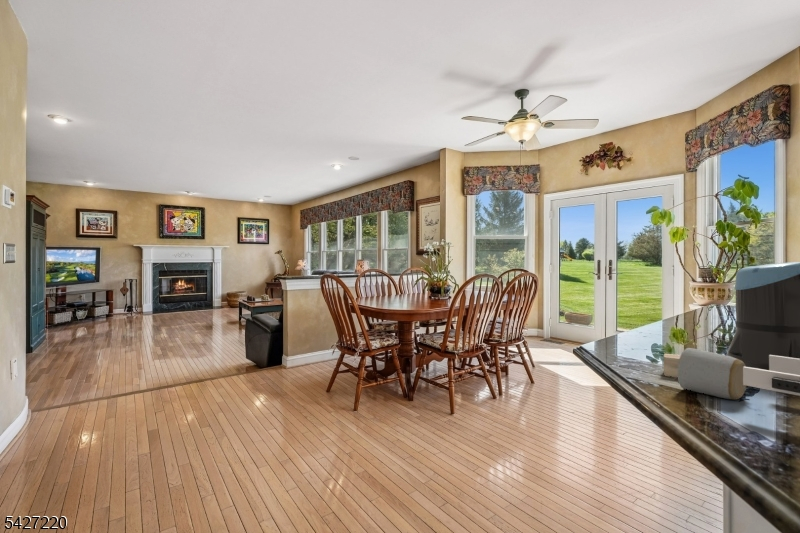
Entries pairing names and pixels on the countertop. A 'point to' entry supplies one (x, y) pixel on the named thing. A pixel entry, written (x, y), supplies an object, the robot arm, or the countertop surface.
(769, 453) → the countertop surface
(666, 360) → the birch block
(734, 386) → the ceramic mug
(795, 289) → the robot arm
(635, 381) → the countertop surface
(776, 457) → the countertop surface
